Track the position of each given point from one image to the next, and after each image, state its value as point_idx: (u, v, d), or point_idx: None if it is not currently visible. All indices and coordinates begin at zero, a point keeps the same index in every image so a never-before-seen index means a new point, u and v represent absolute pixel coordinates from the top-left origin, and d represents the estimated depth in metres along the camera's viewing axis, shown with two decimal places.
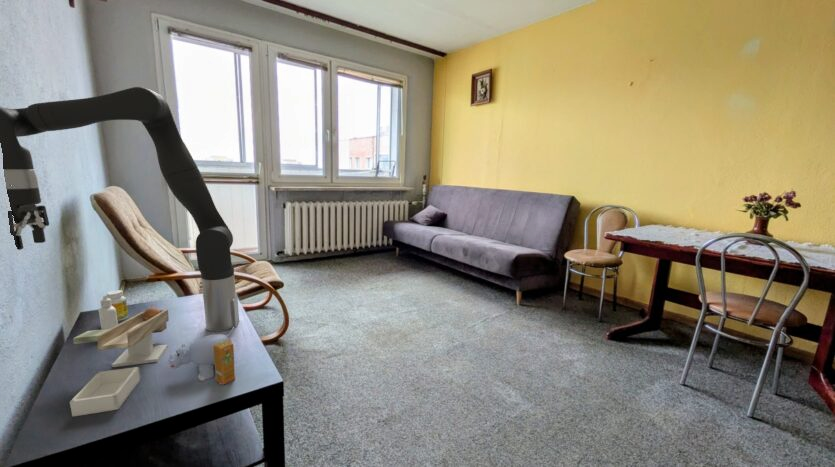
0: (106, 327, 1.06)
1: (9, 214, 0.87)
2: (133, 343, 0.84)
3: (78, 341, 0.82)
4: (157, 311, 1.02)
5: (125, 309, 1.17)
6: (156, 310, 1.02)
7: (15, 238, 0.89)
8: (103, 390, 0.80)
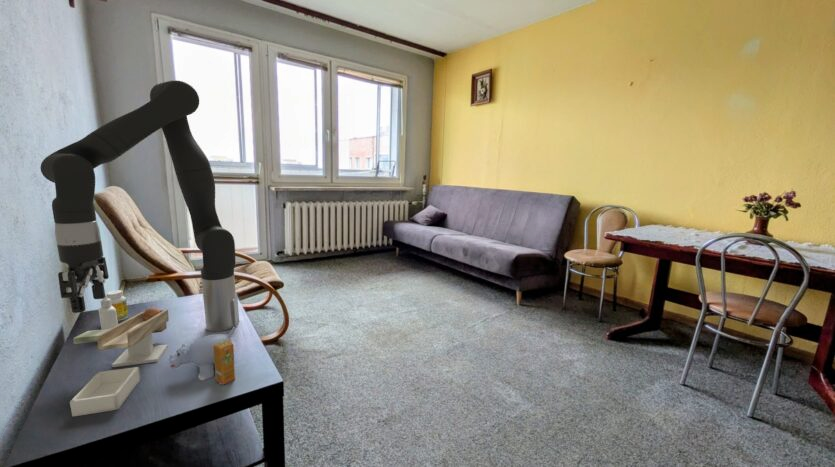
0: (105, 327, 1.06)
1: (73, 275, 0.77)
2: (133, 343, 0.84)
3: (78, 341, 0.82)
4: (157, 311, 1.02)
5: (125, 309, 1.17)
6: (156, 310, 1.02)
7: (78, 300, 0.79)
8: (103, 390, 0.80)
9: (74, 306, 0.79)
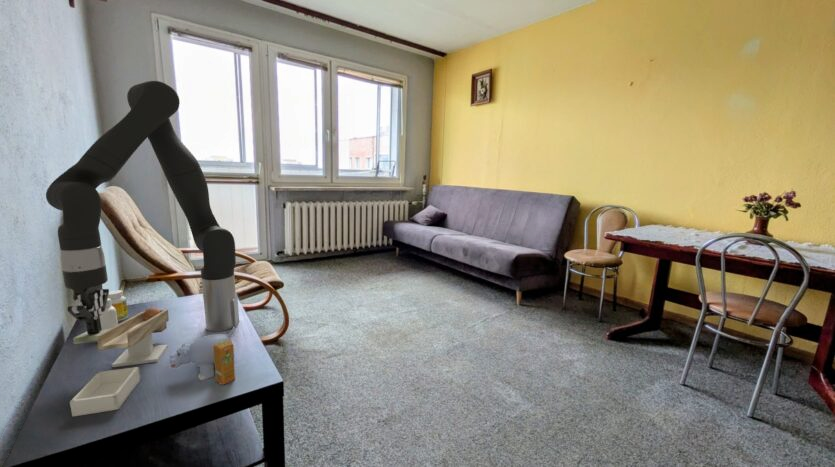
0: (105, 327, 1.06)
1: (82, 309, 0.79)
2: (133, 343, 0.84)
3: (78, 341, 0.82)
4: (157, 311, 1.02)
5: (125, 309, 1.17)
6: (156, 310, 1.02)
7: (93, 322, 0.84)
8: (103, 390, 0.80)
9: (89, 328, 0.84)
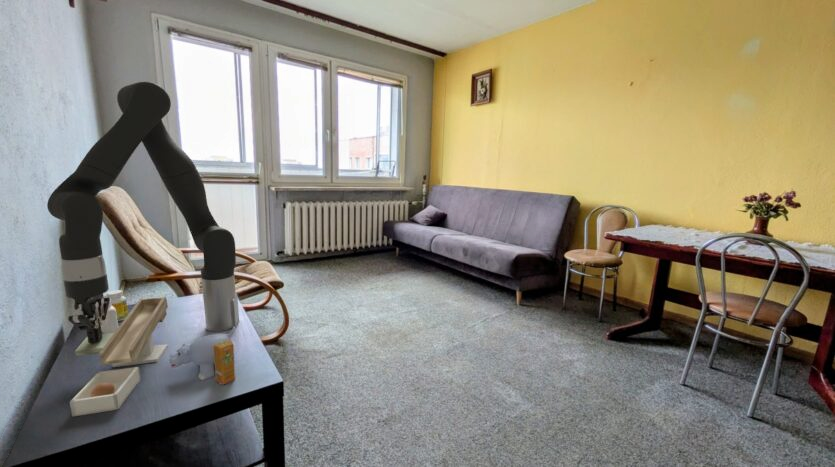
0: (106, 327, 1.06)
1: (83, 318, 0.79)
2: (136, 356, 0.85)
3: (80, 353, 0.83)
4: None
5: (125, 309, 1.17)
6: None
7: (94, 331, 0.84)
8: None
9: (90, 337, 0.84)
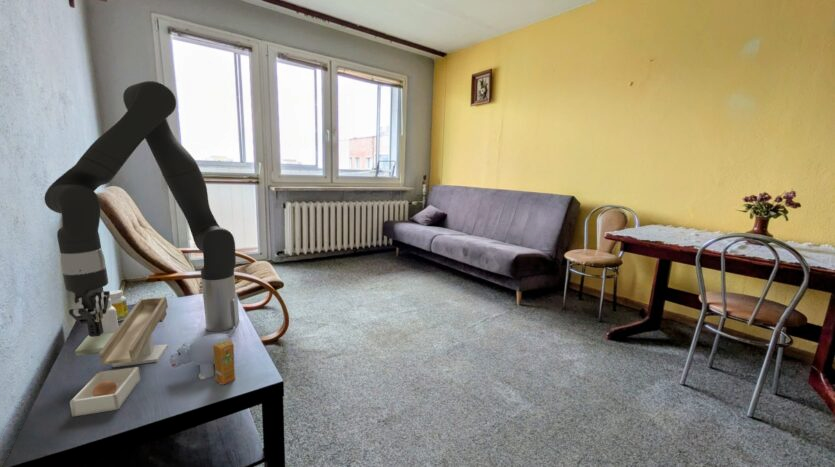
0: (106, 327, 1.06)
1: (84, 312, 0.79)
2: (136, 356, 0.85)
3: (80, 353, 0.83)
4: (115, 390, 0.79)
5: (125, 309, 1.17)
6: None
7: (95, 325, 0.84)
8: None
9: (91, 331, 0.84)
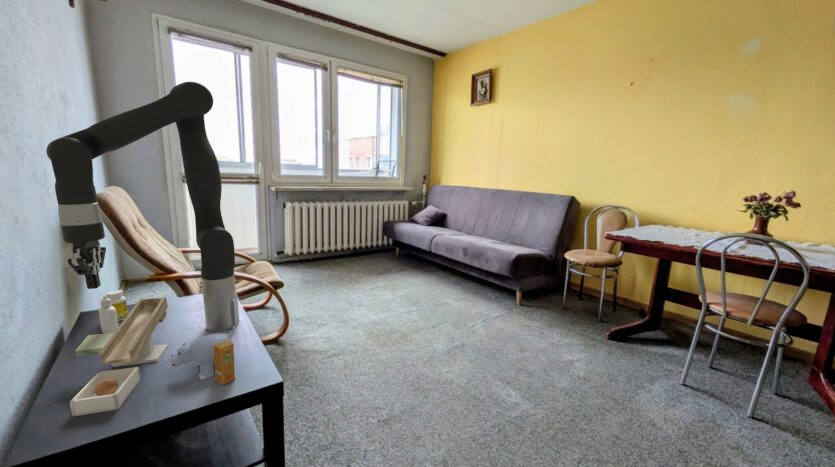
0: (106, 327, 1.06)
1: (82, 261, 0.82)
2: (136, 356, 0.85)
3: (80, 353, 0.83)
4: (116, 390, 0.79)
5: (125, 309, 1.17)
6: (115, 391, 0.79)
7: (92, 277, 0.87)
8: None
9: (89, 282, 0.87)
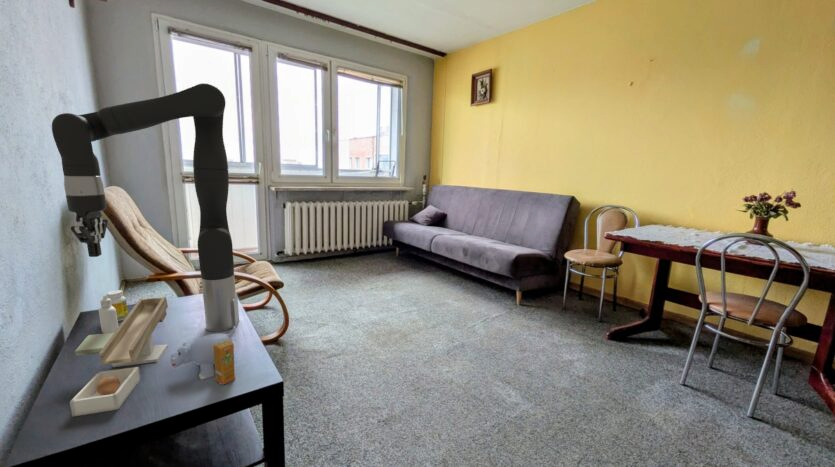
0: (106, 327, 1.06)
1: (84, 229, 0.89)
2: (136, 356, 0.85)
3: (80, 353, 0.83)
4: (117, 389, 0.80)
5: (125, 309, 1.17)
6: (115, 390, 0.79)
7: (94, 246, 0.93)
8: None
9: (90, 251, 0.93)
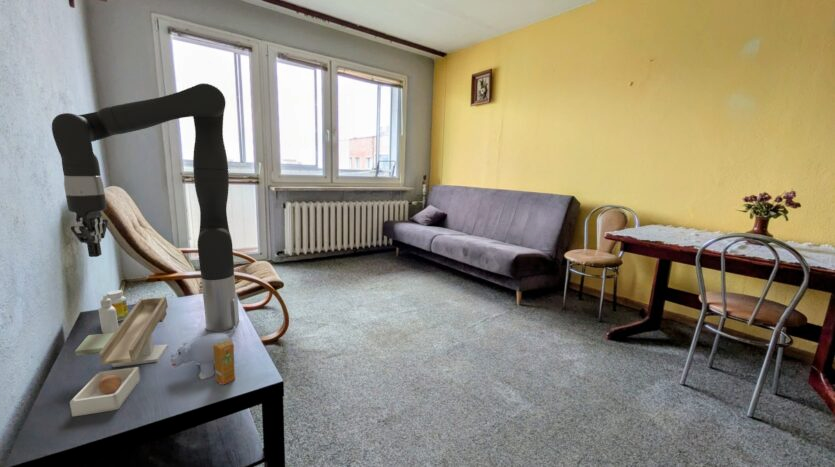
0: (106, 327, 1.06)
1: (84, 229, 0.89)
2: (136, 356, 0.85)
3: (80, 353, 0.83)
4: (118, 387, 0.80)
5: (125, 309, 1.17)
6: (116, 389, 0.80)
7: (94, 245, 0.93)
8: None
9: (90, 251, 0.93)
